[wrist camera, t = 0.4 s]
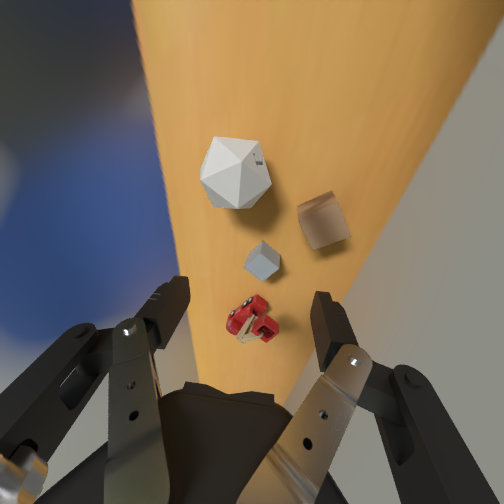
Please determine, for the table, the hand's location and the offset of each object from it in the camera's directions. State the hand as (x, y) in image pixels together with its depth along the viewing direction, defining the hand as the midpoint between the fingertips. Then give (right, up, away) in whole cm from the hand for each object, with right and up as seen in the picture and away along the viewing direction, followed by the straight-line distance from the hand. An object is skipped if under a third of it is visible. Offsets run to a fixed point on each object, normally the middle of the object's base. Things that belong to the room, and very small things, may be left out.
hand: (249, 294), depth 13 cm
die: (-1, +14, +16) cm, 21 cm away
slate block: (+2, +2, +23) cm, 23 cm away
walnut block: (+10, +8, +17) cm, 22 cm away
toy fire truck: (0, -8, +30) cm, 31 cm away
